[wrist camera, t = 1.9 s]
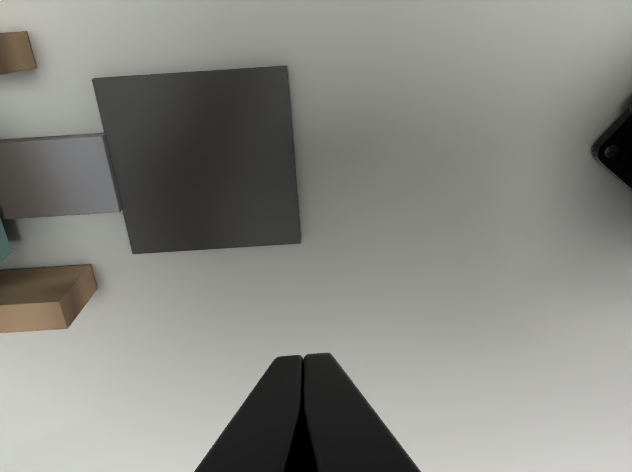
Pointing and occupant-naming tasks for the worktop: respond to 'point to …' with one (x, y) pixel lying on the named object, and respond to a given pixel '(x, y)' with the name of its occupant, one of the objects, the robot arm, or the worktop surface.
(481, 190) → the worktop surface
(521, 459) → the worktop surface
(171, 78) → the channel
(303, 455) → the robot arm
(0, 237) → the block
